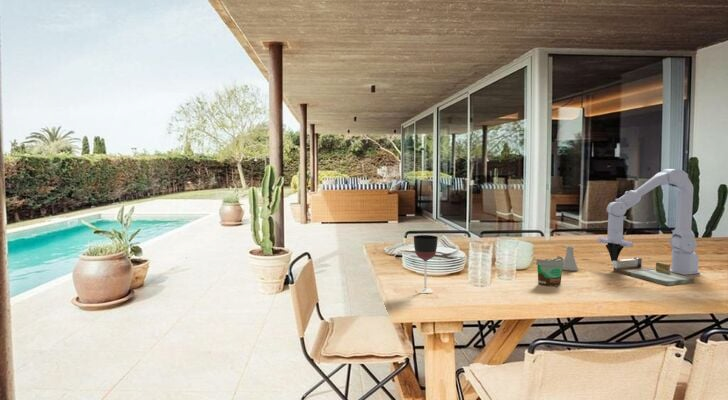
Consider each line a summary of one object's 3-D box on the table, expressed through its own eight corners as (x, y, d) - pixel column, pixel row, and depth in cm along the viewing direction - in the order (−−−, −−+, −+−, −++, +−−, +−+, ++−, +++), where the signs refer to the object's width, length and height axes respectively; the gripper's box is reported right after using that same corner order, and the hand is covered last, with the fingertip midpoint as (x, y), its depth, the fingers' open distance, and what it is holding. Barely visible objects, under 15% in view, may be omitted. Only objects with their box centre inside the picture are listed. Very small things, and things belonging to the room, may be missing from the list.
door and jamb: (638, 268, 196) (638, 257, 195) (693, 282, 173) (694, 269, 173) (613, 271, 192) (613, 259, 191) (666, 285, 169) (667, 272, 168)
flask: (580, 271, 191) (581, 248, 190) (562, 271, 193) (563, 248, 192) (576, 267, 198) (576, 245, 198) (558, 267, 200) (559, 245, 199)
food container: (548, 288, 166) (549, 262, 165) (535, 284, 171) (536, 259, 170) (571, 284, 171) (572, 258, 170) (557, 280, 177) (558, 255, 176)
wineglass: (432, 295, 158) (432, 239, 156) (409, 292, 162) (409, 237, 161) (440, 290, 164) (441, 236, 163) (419, 286, 169) (419, 234, 167)
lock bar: (636, 265, 195) (637, 257, 194) (643, 266, 192) (643, 258, 192) (611, 267, 190) (612, 259, 190) (617, 269, 188) (618, 261, 187)
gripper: (593, 228, 197) (592, 258, 198) (625, 232, 184) (624, 265, 185) (604, 227, 200) (603, 257, 201) (636, 231, 187) (635, 263, 188)
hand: (614, 261), depth 194 cm, fingers closed
